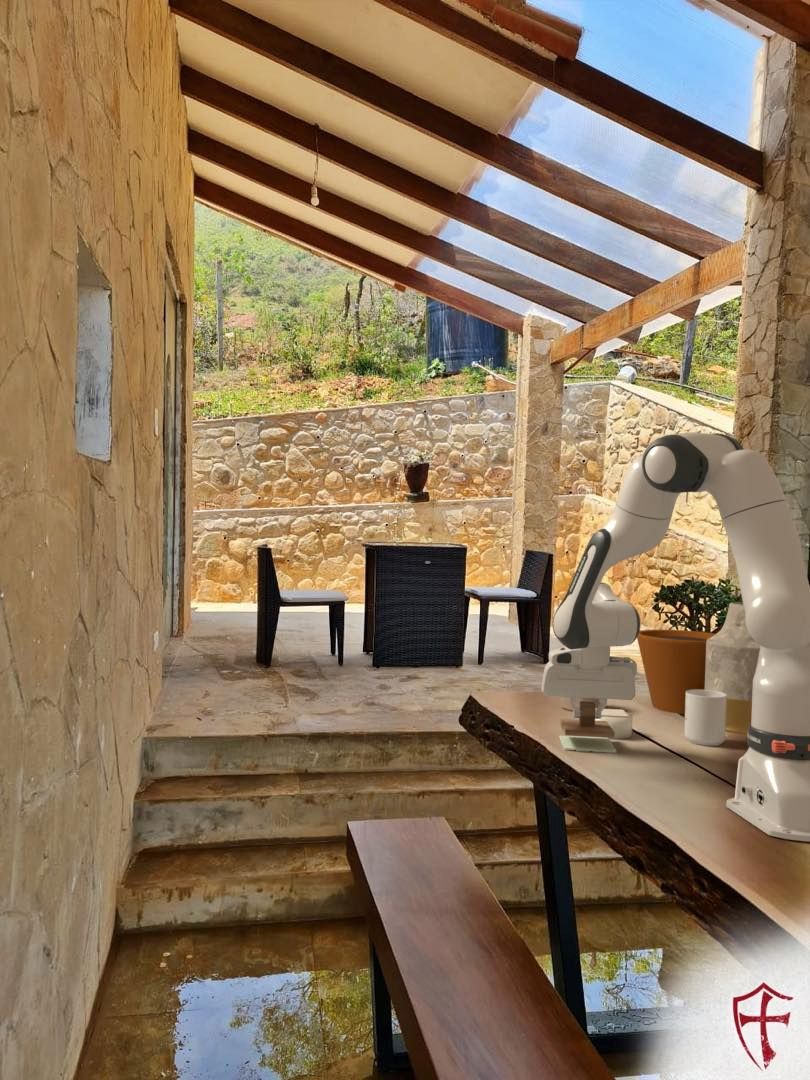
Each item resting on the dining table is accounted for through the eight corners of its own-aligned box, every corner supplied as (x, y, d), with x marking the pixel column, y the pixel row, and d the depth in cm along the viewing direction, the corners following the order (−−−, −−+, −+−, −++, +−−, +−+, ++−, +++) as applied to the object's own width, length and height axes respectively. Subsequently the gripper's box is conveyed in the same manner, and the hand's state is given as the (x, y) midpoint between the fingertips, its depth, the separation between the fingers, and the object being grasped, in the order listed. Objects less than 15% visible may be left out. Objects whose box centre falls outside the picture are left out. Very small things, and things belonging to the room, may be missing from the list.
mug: (727, 748, 189) (728, 698, 189) (685, 744, 191) (686, 695, 191) (721, 735, 201) (723, 689, 201) (682, 732, 203) (683, 686, 203)
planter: (552, 705, 229) (553, 670, 229) (585, 703, 234) (586, 668, 234) (577, 714, 220) (578, 677, 219) (611, 711, 224) (612, 675, 224)
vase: (744, 715, 224) (748, 600, 223) (799, 732, 207) (804, 607, 206) (687, 719, 217) (692, 600, 217) (740, 737, 200) (745, 607, 200)
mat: (616, 752, 182) (616, 750, 182) (564, 750, 183) (564, 747, 183) (607, 740, 193) (608, 737, 193) (559, 737, 194) (559, 735, 194)
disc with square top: (635, 739, 194) (636, 718, 194) (591, 737, 195) (592, 715, 195) (627, 729, 204) (628, 708, 204) (585, 727, 205) (586, 706, 205)
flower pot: (616, 701, 237) (618, 630, 237) (684, 697, 246) (686, 628, 246) (674, 721, 215) (676, 642, 215) (746, 715, 224) (749, 639, 224)
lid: (614, 737, 183) (615, 709, 182) (565, 735, 183) (566, 706, 183) (606, 726, 193) (607, 699, 193) (560, 724, 194) (561, 696, 194)
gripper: (634, 655, 190) (632, 716, 190) (542, 651, 192) (539, 712, 192) (640, 659, 184) (637, 723, 184) (544, 655, 185) (542, 718, 186)
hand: (587, 717), depth 188 cm, fingers closed on lid, 3 cm apart
